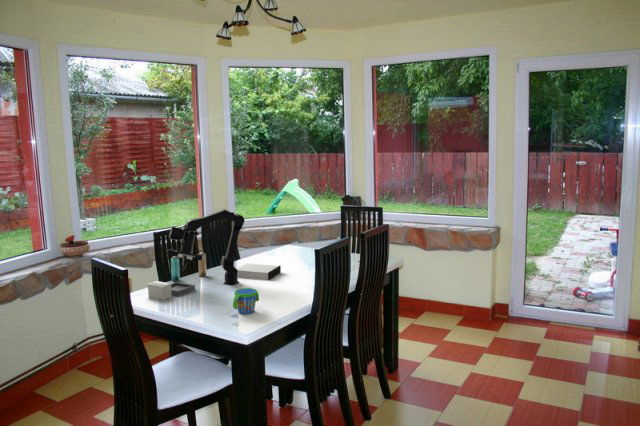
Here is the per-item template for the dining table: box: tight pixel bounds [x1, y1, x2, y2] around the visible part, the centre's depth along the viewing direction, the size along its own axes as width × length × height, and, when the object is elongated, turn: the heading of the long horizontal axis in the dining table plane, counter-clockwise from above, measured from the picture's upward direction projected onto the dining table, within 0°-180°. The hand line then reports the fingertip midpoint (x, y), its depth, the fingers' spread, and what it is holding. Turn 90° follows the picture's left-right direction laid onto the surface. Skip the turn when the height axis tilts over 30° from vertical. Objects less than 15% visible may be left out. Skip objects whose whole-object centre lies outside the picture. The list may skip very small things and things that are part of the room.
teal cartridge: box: [170, 255, 181, 283], centre depth 293 cm, size 4×4×14 cm
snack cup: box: [232, 287, 260, 315], centre depth 240 cm, size 16×10×10 cm
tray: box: [171, 281, 196, 297], centre depth 273 cm, size 13×13×3 cm
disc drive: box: [236, 262, 282, 281], centre depth 306 cm, size 18×22×5 cm
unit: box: [147, 280, 173, 301], centre depth 263 cm, size 10×6×7 cm, turn 63°
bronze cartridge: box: [197, 252, 207, 278], centre depth 303 cm, size 4×4×14 cm
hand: (182, 270), depth 275 cm, fingers closed
